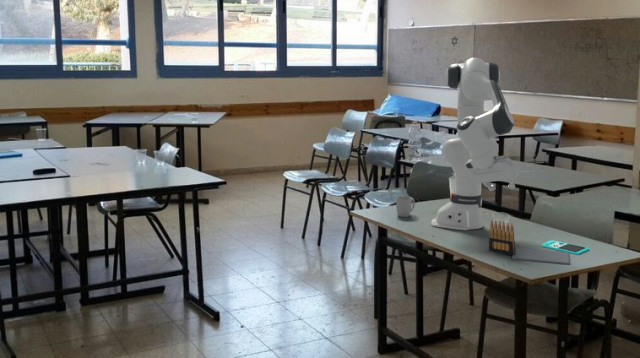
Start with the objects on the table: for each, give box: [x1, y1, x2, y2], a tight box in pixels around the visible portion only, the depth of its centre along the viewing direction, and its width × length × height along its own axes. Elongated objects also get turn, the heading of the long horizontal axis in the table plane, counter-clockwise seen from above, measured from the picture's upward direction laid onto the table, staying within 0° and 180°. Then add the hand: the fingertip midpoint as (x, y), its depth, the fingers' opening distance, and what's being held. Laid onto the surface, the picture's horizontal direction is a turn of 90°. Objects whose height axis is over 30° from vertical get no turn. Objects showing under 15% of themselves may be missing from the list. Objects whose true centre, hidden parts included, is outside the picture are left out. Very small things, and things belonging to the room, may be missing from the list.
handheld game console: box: [541, 239, 590, 256], centre depth 264 cm, size 10×16×1 cm, turn 43°
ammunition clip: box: [488, 219, 516, 256], centre depth 256 cm, size 11×2×12 cm, turn 41°
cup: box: [395, 195, 416, 218], centre depth 315 cm, size 8×10×8 cm
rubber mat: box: [511, 247, 571, 265], centre depth 253 cm, size 20×14×1 cm
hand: (502, 189), depth 247 cm, fingers open, 8 cm apart
